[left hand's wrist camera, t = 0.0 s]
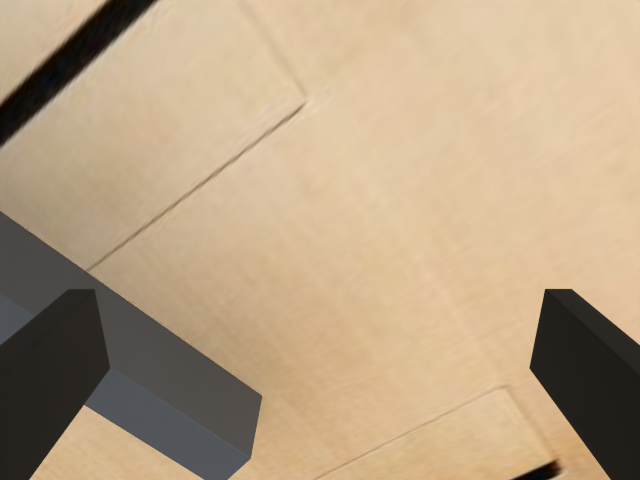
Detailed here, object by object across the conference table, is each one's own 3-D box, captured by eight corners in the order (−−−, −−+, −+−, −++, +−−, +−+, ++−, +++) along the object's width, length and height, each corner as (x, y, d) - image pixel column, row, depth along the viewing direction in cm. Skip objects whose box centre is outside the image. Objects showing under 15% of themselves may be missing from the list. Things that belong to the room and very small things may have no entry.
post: (-220, 116, 38) (-365, 125, 30) (-199, 70, 36) (-345, 67, 28) (234, 422, 49) (217, 488, 41) (262, 395, 48) (250, 458, 40)
